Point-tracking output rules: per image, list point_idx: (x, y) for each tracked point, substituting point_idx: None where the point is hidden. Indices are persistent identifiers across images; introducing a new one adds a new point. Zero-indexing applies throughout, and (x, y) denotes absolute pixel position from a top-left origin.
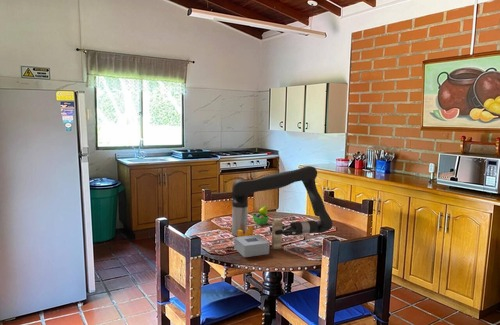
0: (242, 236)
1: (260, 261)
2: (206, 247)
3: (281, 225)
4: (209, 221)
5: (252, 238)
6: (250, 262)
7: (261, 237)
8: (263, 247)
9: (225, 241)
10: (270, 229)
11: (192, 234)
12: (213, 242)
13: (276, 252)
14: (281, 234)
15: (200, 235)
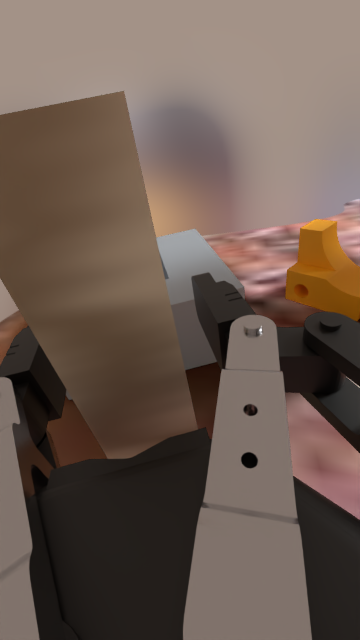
0: (310, 266)
1: (5, 352)
2: (218, 234)
3: (31, 312)
4: None
5: (166, 271)
6: (25, 322)
7: (170, 302)
8: None
9: (294, 254)
10: (193, 292)
11: (353, 200)
12: (273, 236)
13: (68, 455)
14: (105, 446)
15: (351, 209)
